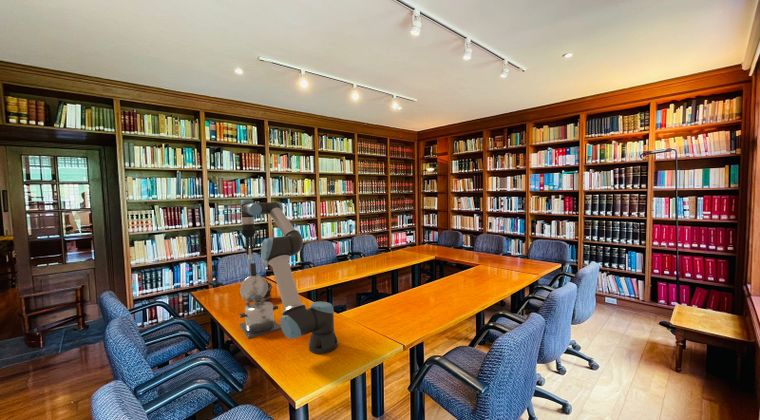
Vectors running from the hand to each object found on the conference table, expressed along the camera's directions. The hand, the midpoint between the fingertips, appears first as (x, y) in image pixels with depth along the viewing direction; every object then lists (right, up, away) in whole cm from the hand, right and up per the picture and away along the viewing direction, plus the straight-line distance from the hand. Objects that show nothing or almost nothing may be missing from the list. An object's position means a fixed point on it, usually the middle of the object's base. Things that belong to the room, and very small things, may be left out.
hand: (249, 259), depth 202 cm
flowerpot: (-5, -37, +34) cm, 51 cm away
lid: (+6, -13, -8) cm, 17 cm away
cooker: (+12, -39, -14) cm, 44 cm away
